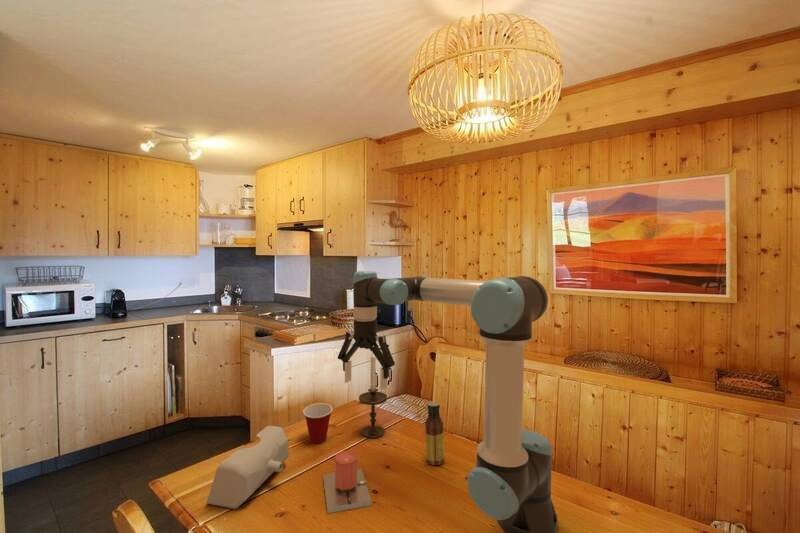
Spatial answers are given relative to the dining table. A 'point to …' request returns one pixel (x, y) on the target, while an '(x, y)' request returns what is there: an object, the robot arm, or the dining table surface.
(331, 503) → the plate
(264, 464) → the tank
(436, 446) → the sauce bottle
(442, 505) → the dining table surface
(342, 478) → the wire nut
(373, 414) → the candlestick
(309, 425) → the plastic cup
